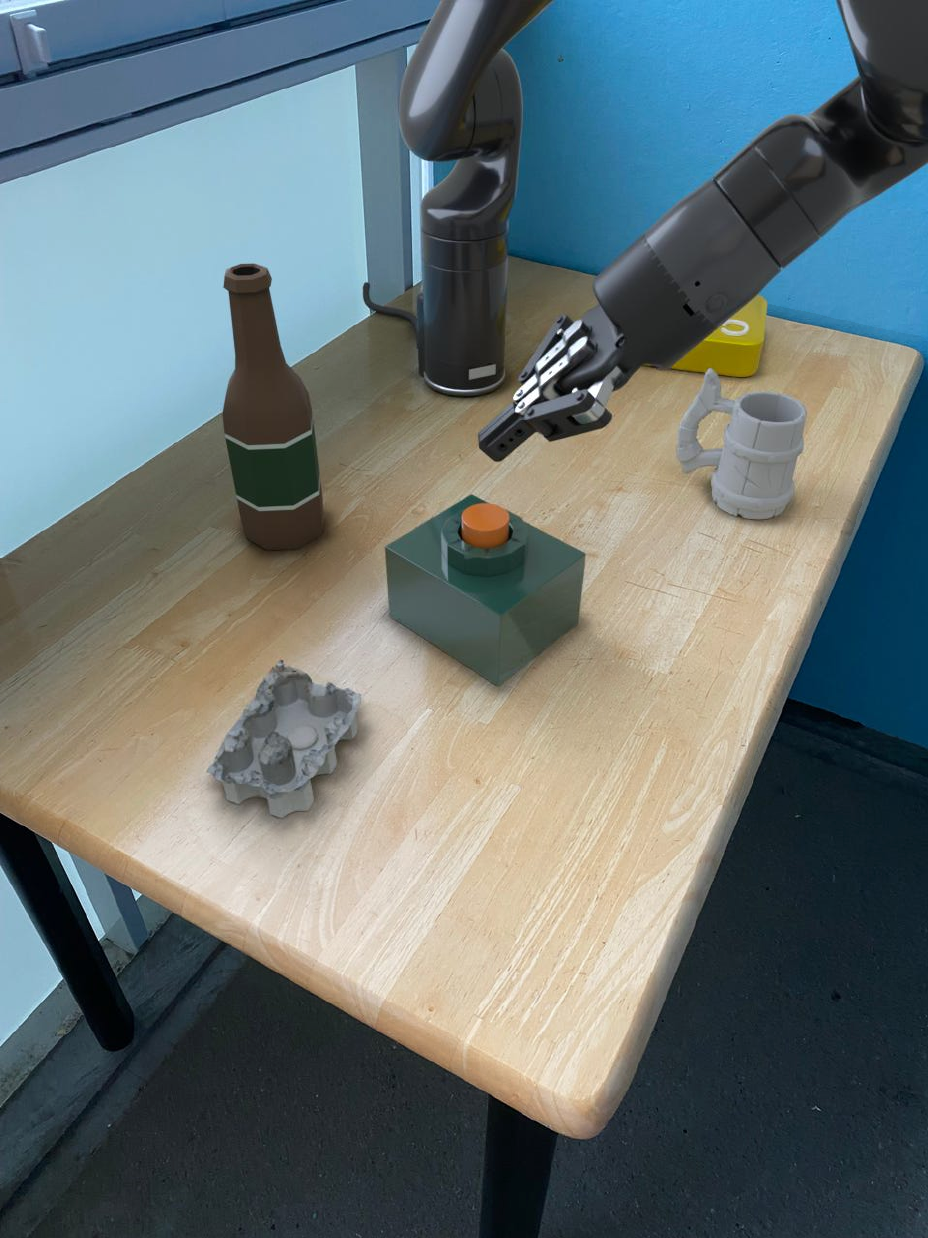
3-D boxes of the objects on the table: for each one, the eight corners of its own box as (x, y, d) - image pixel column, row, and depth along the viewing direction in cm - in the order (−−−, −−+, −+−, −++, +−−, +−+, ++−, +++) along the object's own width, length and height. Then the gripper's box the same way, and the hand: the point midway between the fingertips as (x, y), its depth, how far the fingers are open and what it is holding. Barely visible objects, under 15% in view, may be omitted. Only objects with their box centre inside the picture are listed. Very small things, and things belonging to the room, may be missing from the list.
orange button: (451, 535, 71) (451, 517, 70) (483, 516, 73) (483, 497, 72) (487, 555, 69) (487, 536, 68) (518, 534, 71) (519, 515, 70)
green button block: (389, 616, 77) (383, 527, 71) (470, 561, 82) (471, 475, 76) (498, 687, 71) (501, 596, 65) (578, 623, 76) (588, 534, 70)
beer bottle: (258, 562, 82) (209, 297, 66) (231, 517, 87) (181, 260, 72) (340, 538, 85) (312, 277, 69) (310, 496, 90) (278, 244, 74)
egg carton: (287, 692, 70) (281, 652, 68) (375, 722, 68) (371, 682, 65) (202, 794, 63) (191, 754, 60) (297, 832, 61) (289, 793, 58)
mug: (779, 530, 86) (811, 414, 78) (656, 497, 90) (675, 383, 82) (798, 489, 91) (830, 376, 83) (681, 459, 95) (701, 349, 87)
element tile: (761, 327, 119) (769, 290, 116) (755, 380, 108) (764, 341, 105) (643, 314, 122) (648, 277, 119) (626, 364, 111) (631, 325, 108)
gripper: (630, 198, 61) (446, 372, 69) (671, 276, 52) (451, 469, 59) (696, 277, 65) (514, 434, 73) (746, 364, 55) (530, 535, 63)
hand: (486, 449), depth 66 cm, fingers closed
